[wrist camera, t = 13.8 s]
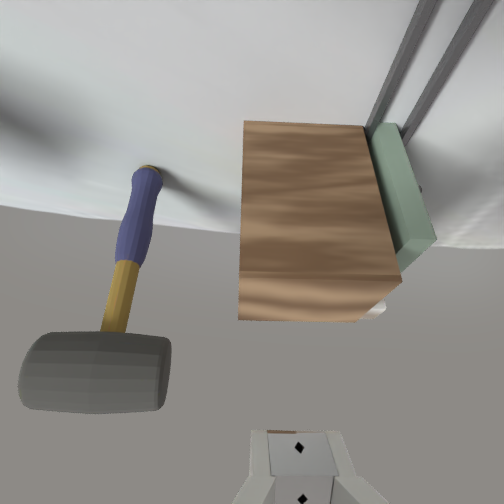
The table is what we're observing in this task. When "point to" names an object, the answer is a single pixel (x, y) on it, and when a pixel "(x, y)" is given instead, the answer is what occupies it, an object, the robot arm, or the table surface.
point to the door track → (440, 74)
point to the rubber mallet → (106, 336)
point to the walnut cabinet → (312, 226)
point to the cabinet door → (400, 196)
